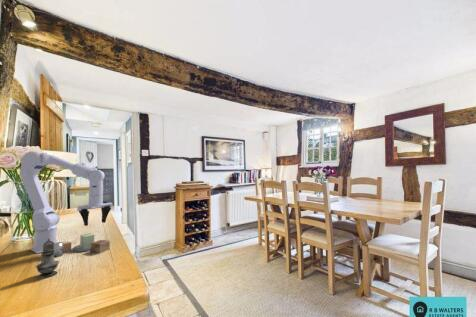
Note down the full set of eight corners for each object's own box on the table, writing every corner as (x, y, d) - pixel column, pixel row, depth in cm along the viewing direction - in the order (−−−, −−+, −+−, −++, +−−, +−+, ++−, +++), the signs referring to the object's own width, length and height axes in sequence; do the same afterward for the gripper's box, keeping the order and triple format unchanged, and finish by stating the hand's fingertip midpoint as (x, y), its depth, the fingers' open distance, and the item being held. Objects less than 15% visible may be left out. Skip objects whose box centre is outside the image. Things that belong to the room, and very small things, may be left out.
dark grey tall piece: (45, 280, 71) (46, 241, 72) (30, 278, 72) (32, 240, 73) (63, 271, 77) (64, 236, 77) (49, 270, 78) (50, 235, 79)
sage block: (80, 246, 100) (80, 235, 100) (89, 244, 103) (90, 233, 104) (83, 248, 98) (84, 236, 98) (93, 245, 101) (94, 234, 102)
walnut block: (90, 252, 96) (90, 243, 96) (100, 248, 100) (100, 239, 101) (99, 253, 94) (100, 244, 95) (109, 249, 99) (109, 240, 99)
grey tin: (48, 256, 91) (49, 244, 92) (60, 253, 95) (61, 241, 95) (52, 258, 89) (52, 245, 89) (64, 255, 92) (64, 243, 93)
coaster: (69, 249, 100) (69, 247, 100) (93, 243, 108) (93, 241, 108) (78, 253, 94) (78, 251, 94) (103, 247, 102) (103, 245, 102)
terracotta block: (50, 253, 95) (50, 245, 96) (66, 249, 101) (67, 241, 101) (54, 254, 93) (55, 246, 94) (71, 250, 99) (71, 242, 99)
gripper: (82, 197, 99) (81, 228, 98) (115, 194, 110) (114, 222, 110) (75, 196, 103) (74, 226, 102) (108, 193, 114) (107, 220, 114)
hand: (95, 223), depth 106 cm, fingers open, 7 cm apart
